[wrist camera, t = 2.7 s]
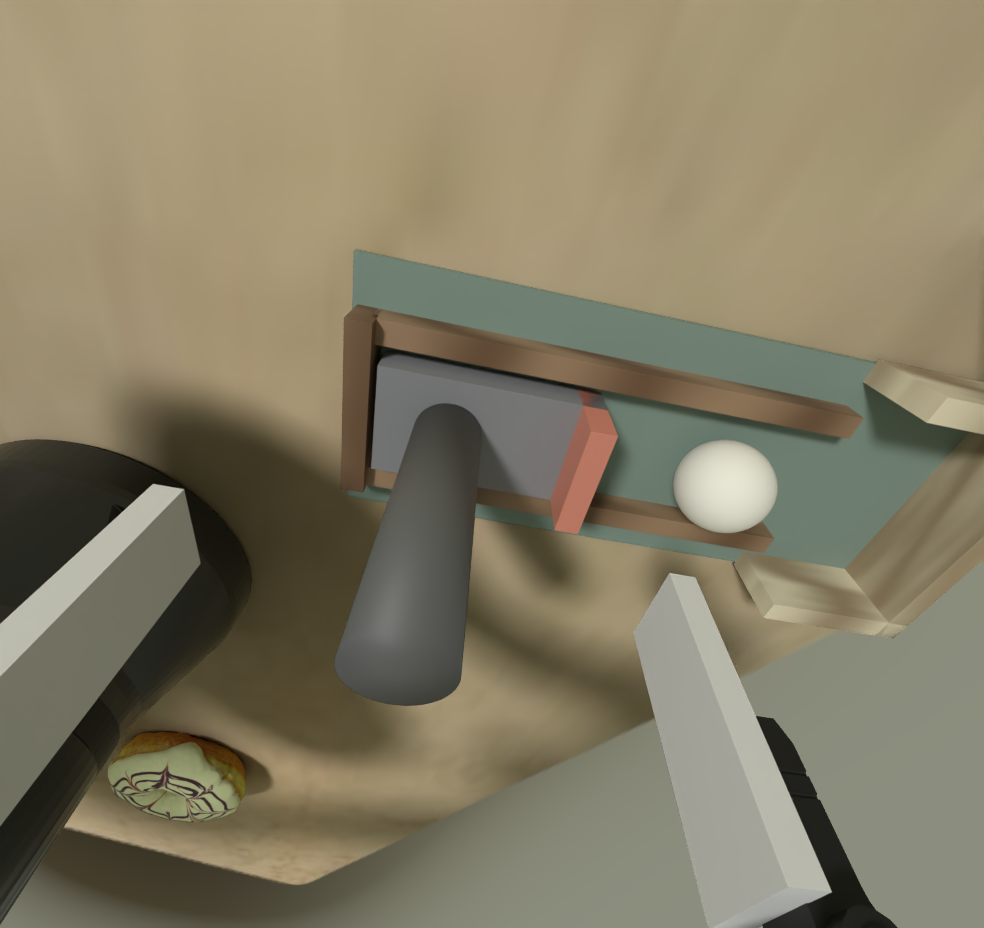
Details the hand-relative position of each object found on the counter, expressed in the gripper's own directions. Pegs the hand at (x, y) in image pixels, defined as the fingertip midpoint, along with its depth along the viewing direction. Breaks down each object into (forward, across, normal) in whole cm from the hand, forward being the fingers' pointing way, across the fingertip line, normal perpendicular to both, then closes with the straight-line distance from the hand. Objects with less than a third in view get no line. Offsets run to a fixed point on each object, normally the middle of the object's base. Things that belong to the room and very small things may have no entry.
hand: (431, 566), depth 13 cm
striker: (+9, +1, 0) cm, 9 cm away
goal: (+9, +20, 0) cm, 22 cm away
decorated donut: (+10, -18, -39) cm, 44 cm away
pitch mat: (+10, +9, 0) cm, 13 cm away
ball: (+7, +12, 0) cm, 14 cm away
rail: (+9, +6, 0) cm, 11 cm away
